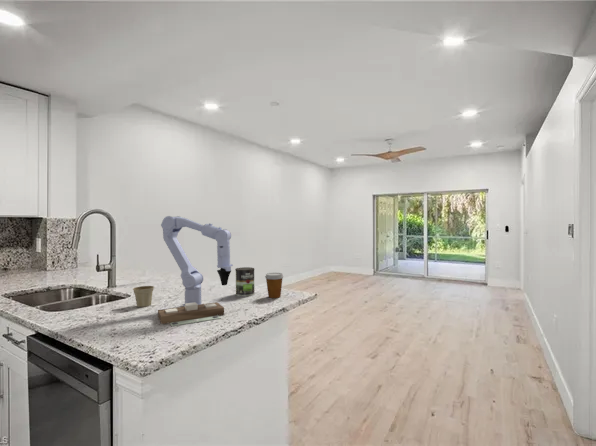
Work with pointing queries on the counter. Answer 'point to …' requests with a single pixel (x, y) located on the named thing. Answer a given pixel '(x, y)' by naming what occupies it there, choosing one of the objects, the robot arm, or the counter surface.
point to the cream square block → (171, 311)
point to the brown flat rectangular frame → (190, 313)
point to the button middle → (191, 306)
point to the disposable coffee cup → (274, 284)
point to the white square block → (210, 305)
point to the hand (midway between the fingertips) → (224, 285)
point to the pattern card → (194, 320)
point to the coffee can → (245, 281)
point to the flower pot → (143, 295)
